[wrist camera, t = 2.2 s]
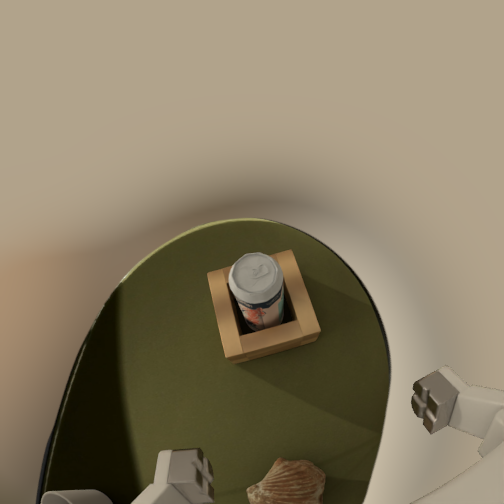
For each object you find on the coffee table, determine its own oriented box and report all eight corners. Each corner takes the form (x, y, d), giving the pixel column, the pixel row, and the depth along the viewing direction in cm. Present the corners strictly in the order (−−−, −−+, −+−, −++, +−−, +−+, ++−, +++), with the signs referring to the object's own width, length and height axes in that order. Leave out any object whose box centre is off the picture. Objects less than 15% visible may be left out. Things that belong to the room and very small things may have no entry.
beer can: (238, 306, 36) (218, 261, 26) (273, 290, 36) (268, 239, 26) (254, 340, 34) (239, 308, 23) (290, 323, 34) (293, 284, 24)
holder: (316, 340, 33) (321, 330, 28) (233, 364, 32) (225, 357, 28) (291, 268, 38) (291, 249, 33) (216, 289, 37) (206, 272, 33)
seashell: (243, 509, 23) (309, 524, 21) (227, 531, 17) (307, 550, 15) (267, 446, 27) (335, 461, 25) (255, 459, 21) (341, 477, 19)
